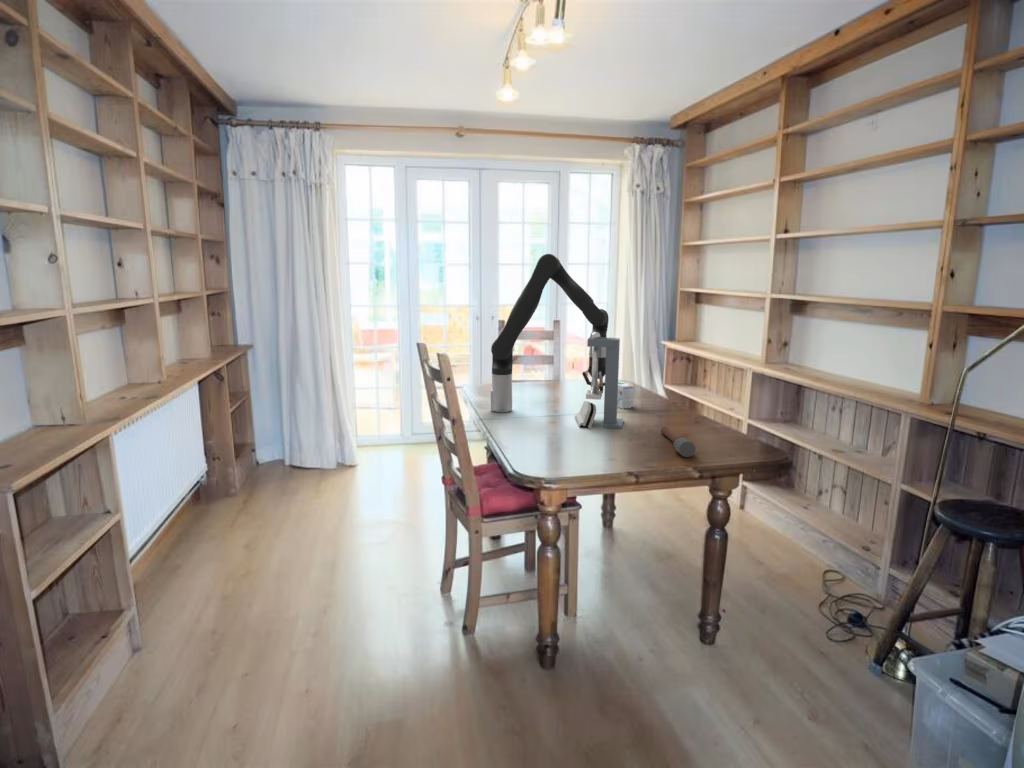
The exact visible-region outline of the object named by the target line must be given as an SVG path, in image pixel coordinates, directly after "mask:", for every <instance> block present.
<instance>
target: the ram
mask: <svg viewBox="0 0 1024 768" xmlns="http://www.w3.org/2000/svg"><path fill="white" fill-rule="evenodd" d="M592 339H600V334H599V333H598V332H594V333H593V334H592ZM598 349H599V347H593V353H592V377H591V381H592V387H591V386H590V389H588V390H587V391H586V393H585V399H586V400H601V399H602V397H603V394H602V391H600V380H599V379H598Z"/></svg>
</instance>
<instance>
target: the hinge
mask: <svg viewBox="0 0 1024 768" xmlns="http://www.w3.org/2000/svg"><path fill="white" fill-rule="evenodd" d="M596 414H597V406H596V404H594V403H593V402H590V401H587V400H585V401H583V402H582V405H581V407H580V410H579V412H577V413H576V414H575V416H574V420H575V422H576V425H577V428H578V427H580V428H581V426H582V427H587V428H588V429H591V428H592V425H593V422H594V420H595V417H596Z"/></svg>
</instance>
